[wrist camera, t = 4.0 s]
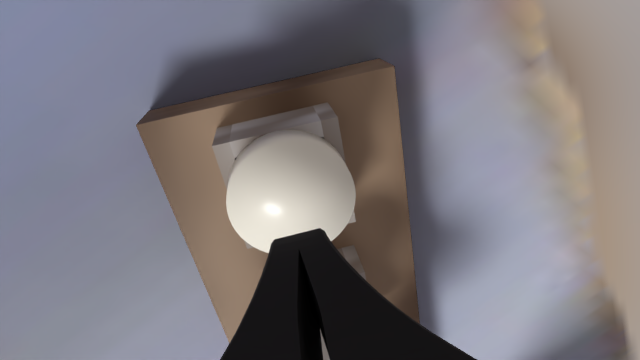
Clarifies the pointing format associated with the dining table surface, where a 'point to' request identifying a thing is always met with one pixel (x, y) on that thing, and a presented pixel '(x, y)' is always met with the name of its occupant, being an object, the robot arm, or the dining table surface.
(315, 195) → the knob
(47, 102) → the dining table surface
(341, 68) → the knob mount
